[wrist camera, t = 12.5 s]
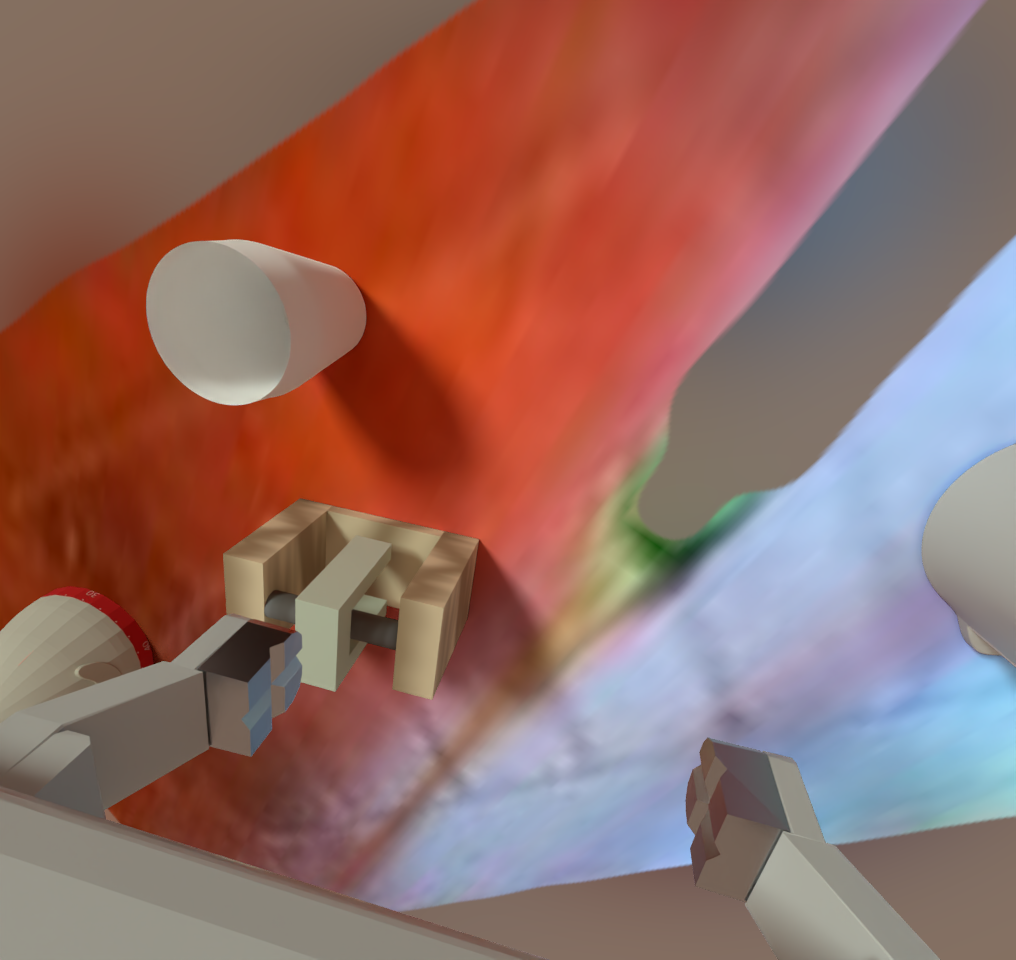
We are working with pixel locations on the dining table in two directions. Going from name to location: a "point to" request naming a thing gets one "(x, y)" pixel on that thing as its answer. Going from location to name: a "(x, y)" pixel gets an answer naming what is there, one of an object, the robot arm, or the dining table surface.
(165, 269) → the cup
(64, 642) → the kitchen timer
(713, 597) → the dining table surface
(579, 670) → the dining table surface
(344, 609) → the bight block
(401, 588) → the wooden frame with rod
